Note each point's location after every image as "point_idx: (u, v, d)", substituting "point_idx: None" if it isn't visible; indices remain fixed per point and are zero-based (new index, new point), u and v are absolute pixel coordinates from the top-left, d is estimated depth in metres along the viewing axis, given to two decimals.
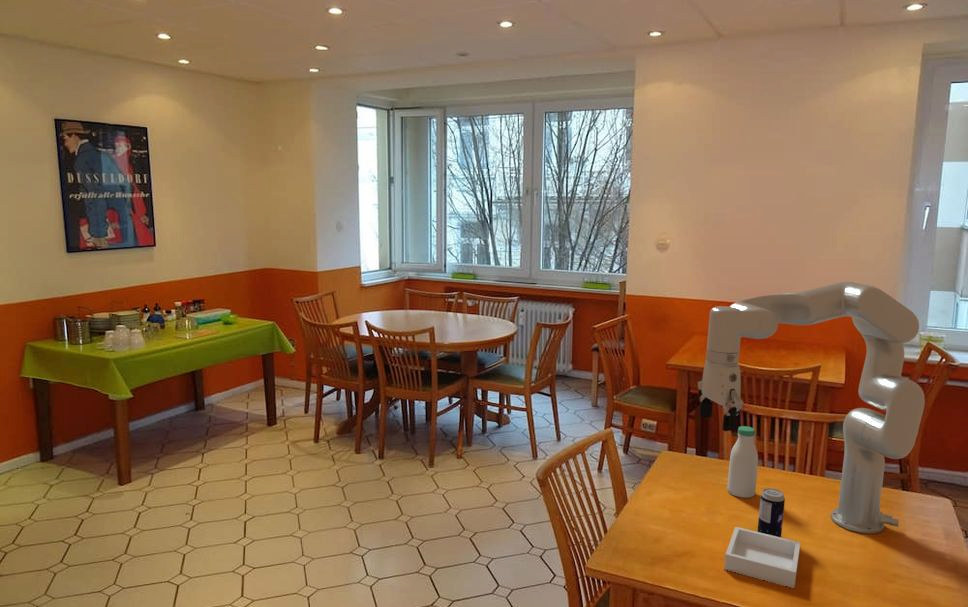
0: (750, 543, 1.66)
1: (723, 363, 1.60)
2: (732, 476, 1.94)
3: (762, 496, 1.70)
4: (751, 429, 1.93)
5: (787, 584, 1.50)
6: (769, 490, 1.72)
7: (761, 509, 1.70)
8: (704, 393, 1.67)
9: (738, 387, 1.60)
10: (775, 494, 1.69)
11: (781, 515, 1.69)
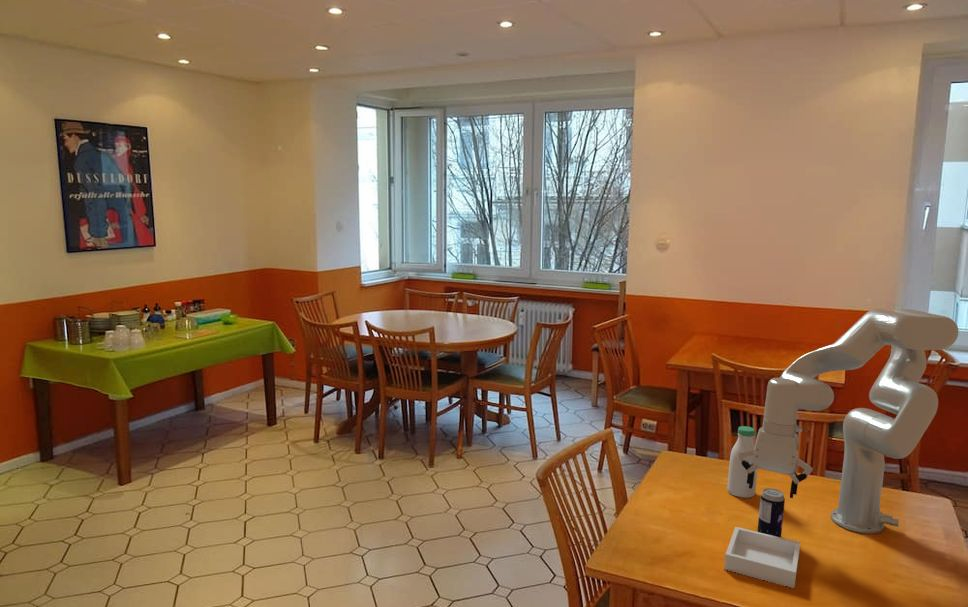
0: (750, 543, 1.66)
1: (792, 434, 1.64)
2: (732, 476, 1.94)
3: (762, 496, 1.70)
4: (751, 429, 1.93)
5: (787, 584, 1.50)
6: (769, 490, 1.72)
7: (761, 509, 1.70)
8: (760, 465, 1.68)
9: None
10: (775, 494, 1.69)
11: (781, 515, 1.69)
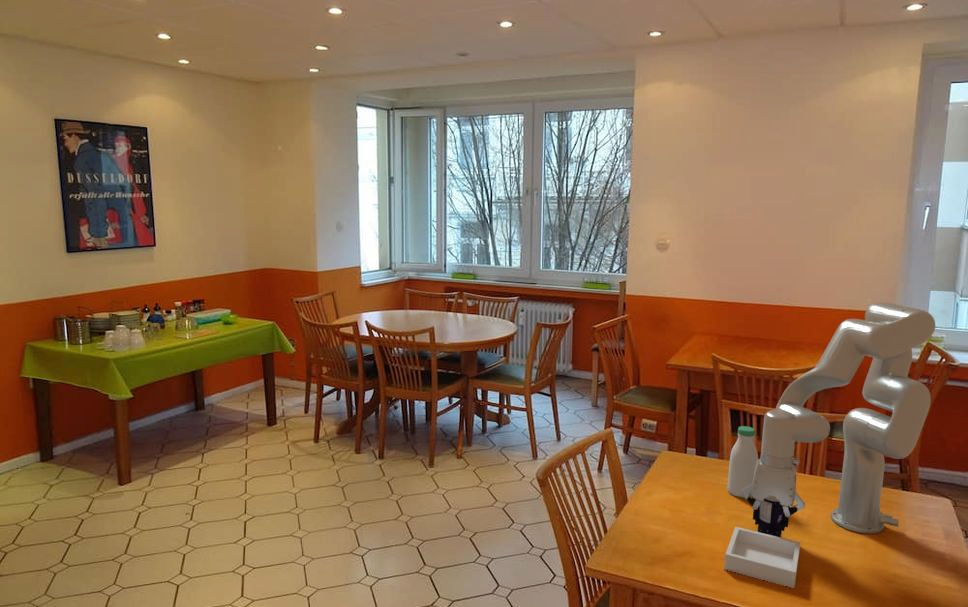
0: (750, 543, 1.66)
1: (789, 467, 1.66)
2: (732, 476, 1.94)
3: None
4: (751, 429, 1.93)
5: (787, 584, 1.50)
6: None
7: (761, 509, 1.70)
8: (758, 497, 1.70)
9: None
10: None
11: (781, 515, 1.69)
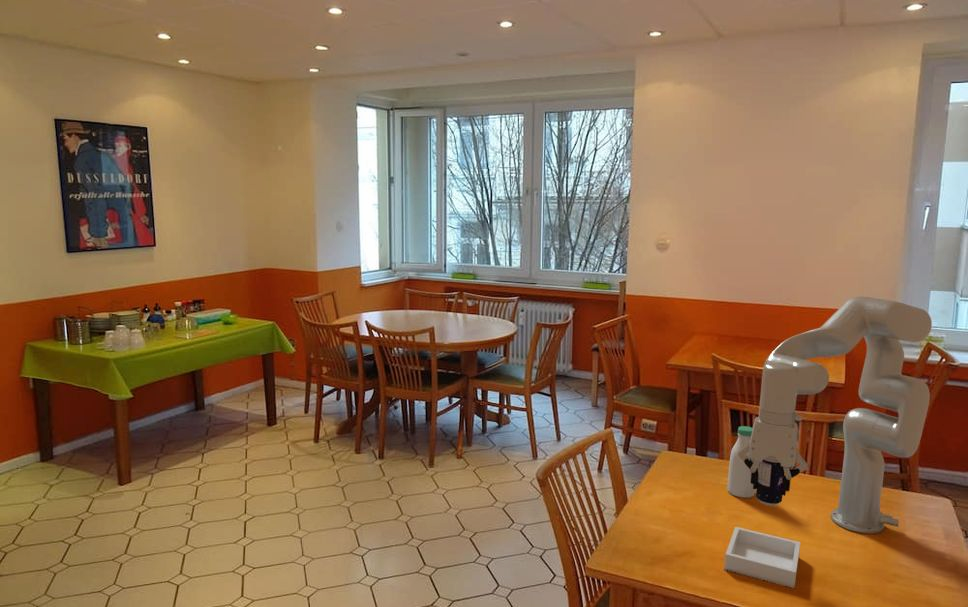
0: (750, 543, 1.66)
1: (790, 424, 1.50)
2: (732, 476, 1.94)
3: None
4: (751, 429, 1.93)
5: (787, 584, 1.50)
6: None
7: (760, 472, 1.55)
8: (757, 458, 1.54)
9: None
10: None
11: (782, 478, 1.53)
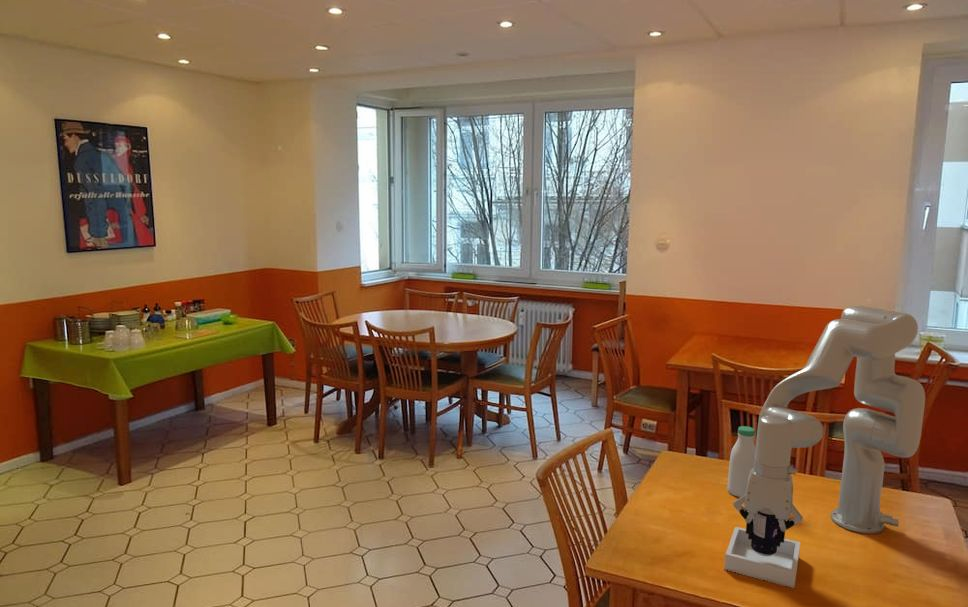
0: (750, 543, 1.66)
1: (785, 477, 1.52)
2: (732, 476, 1.94)
3: None
4: (751, 429, 1.93)
5: (787, 584, 1.50)
6: None
7: (755, 523, 1.57)
8: (752, 509, 1.56)
9: None
10: None
11: (776, 529, 1.55)
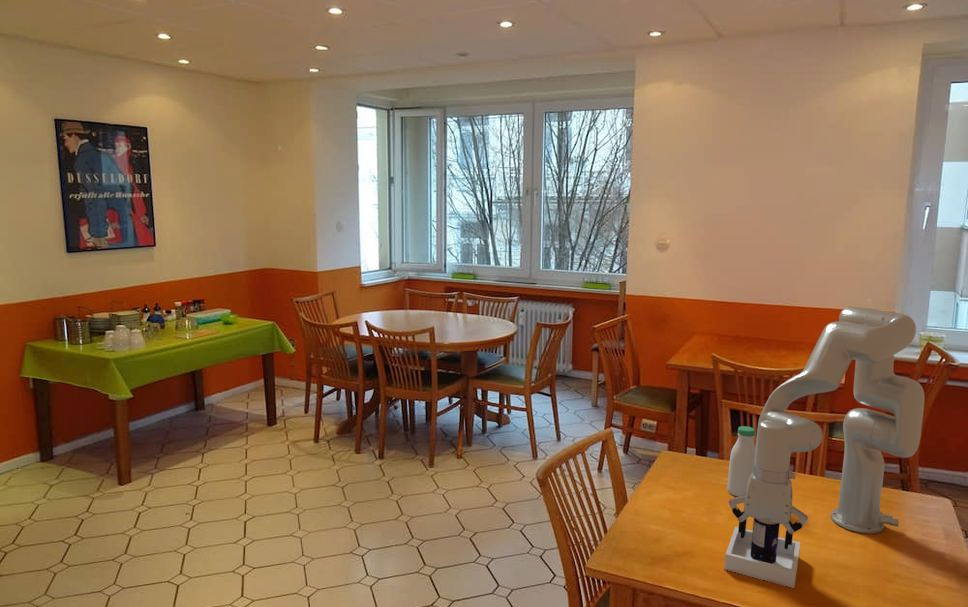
0: (750, 543, 1.66)
1: (785, 482, 1.52)
2: (732, 476, 1.94)
3: (755, 518, 1.57)
4: (751, 429, 1.93)
5: (787, 584, 1.50)
6: None
7: (754, 532, 1.57)
8: (751, 514, 1.57)
9: None
10: None
11: (776, 539, 1.56)
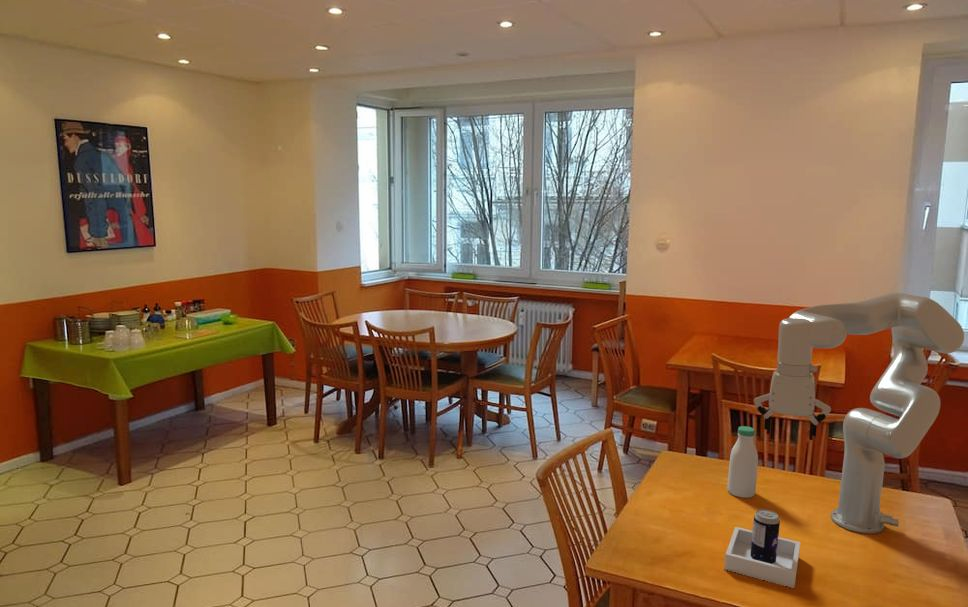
0: (750, 543, 1.66)
1: (807, 375, 1.59)
2: (732, 476, 1.94)
3: (755, 518, 1.57)
4: (751, 429, 1.93)
5: (787, 584, 1.50)
6: (763, 511, 1.59)
7: (754, 532, 1.57)
8: (777, 409, 1.64)
9: None
10: (769, 516, 1.56)
11: (776, 539, 1.56)
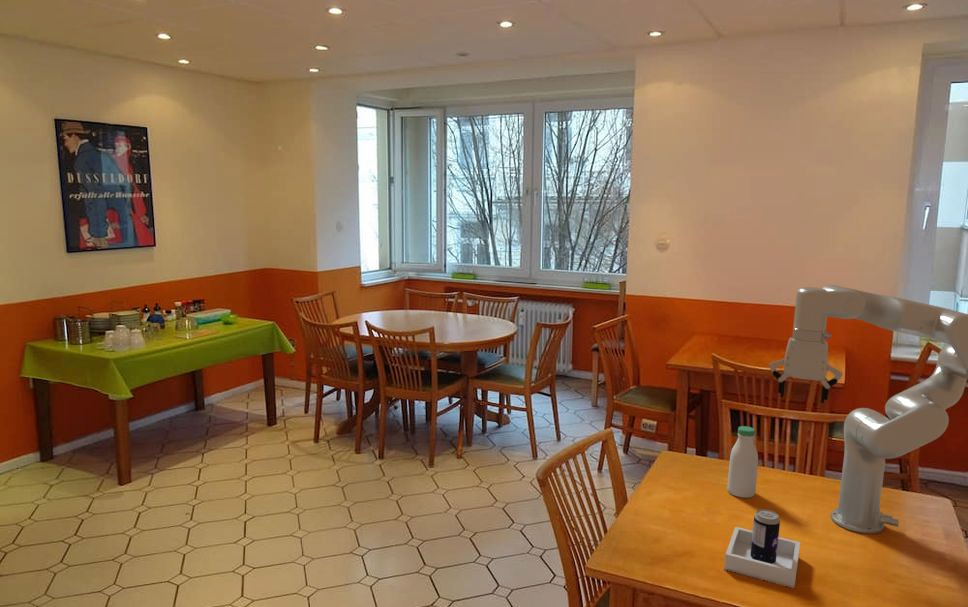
0: (750, 543, 1.66)
1: (822, 340, 1.69)
2: (732, 476, 1.94)
3: (755, 518, 1.57)
4: (751, 429, 1.93)
5: (787, 584, 1.50)
6: (763, 511, 1.59)
7: (754, 532, 1.57)
8: (791, 373, 1.73)
9: None
10: (769, 516, 1.56)
11: (776, 539, 1.56)
